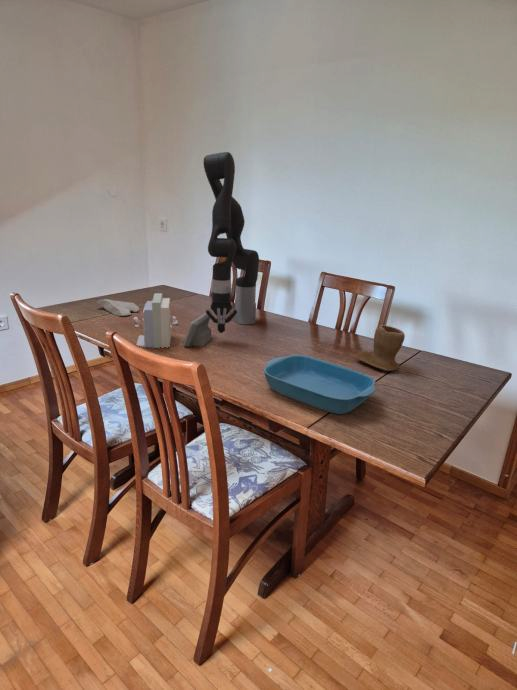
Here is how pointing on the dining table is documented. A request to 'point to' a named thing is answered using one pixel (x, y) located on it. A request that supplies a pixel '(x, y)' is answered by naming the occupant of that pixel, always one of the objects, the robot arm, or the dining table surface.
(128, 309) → the rock
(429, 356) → the dining table surface
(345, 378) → the casserole dish
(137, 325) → the game piece set
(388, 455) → the dining table surface
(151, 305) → the book row
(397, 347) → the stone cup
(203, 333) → the digital clock
